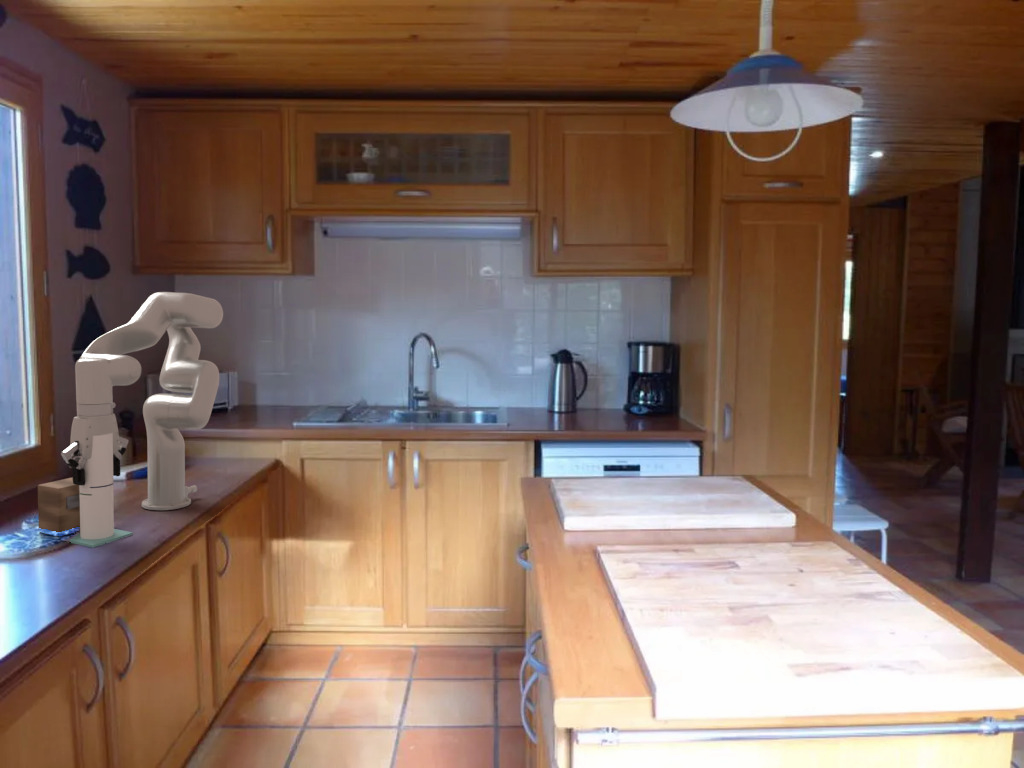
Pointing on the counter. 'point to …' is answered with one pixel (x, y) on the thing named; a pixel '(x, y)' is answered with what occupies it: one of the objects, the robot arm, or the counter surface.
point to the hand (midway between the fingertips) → (97, 479)
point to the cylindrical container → (98, 491)
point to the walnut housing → (59, 505)
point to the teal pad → (98, 542)
